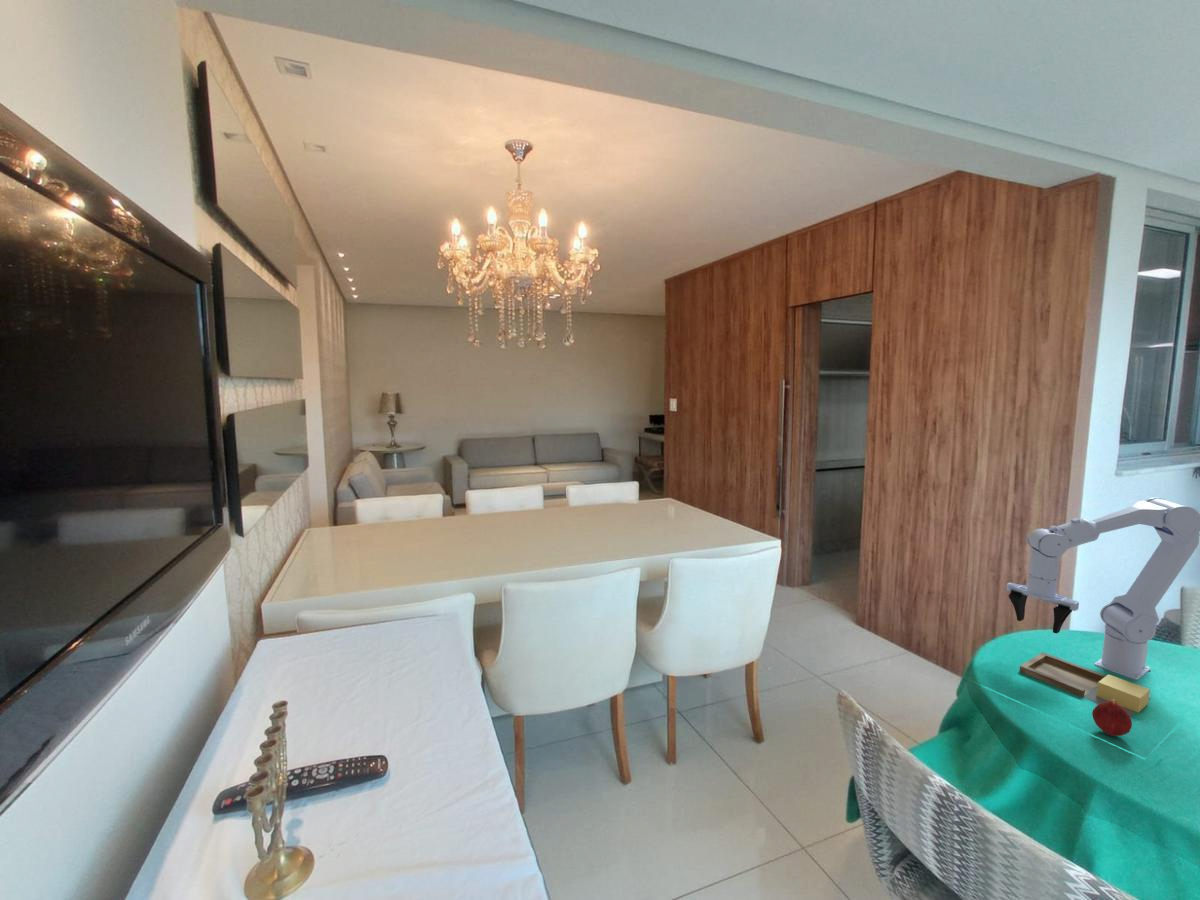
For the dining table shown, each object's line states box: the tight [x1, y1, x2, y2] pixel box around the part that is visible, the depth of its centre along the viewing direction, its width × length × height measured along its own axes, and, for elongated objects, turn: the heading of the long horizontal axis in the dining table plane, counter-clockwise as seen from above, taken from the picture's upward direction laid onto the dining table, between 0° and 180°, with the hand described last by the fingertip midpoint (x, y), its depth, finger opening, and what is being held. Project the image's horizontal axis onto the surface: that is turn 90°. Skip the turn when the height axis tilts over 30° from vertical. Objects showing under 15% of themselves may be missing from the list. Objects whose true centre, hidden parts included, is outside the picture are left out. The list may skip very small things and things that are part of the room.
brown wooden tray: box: [1019, 651, 1105, 698], centre depth 128 cm, size 12×12×2 cm
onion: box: [1091, 699, 1133, 737], centre depth 107 cm, size 6×6×8 cm
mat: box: [1082, 686, 1151, 718], centre depth 119 cm, size 12×8×1 cm, turn 119°
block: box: [1096, 674, 1151, 713], centre depth 118 cm, size 6×7×4 cm
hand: (1037, 625), depth 134 cm, fingers open, 7 cm apart
